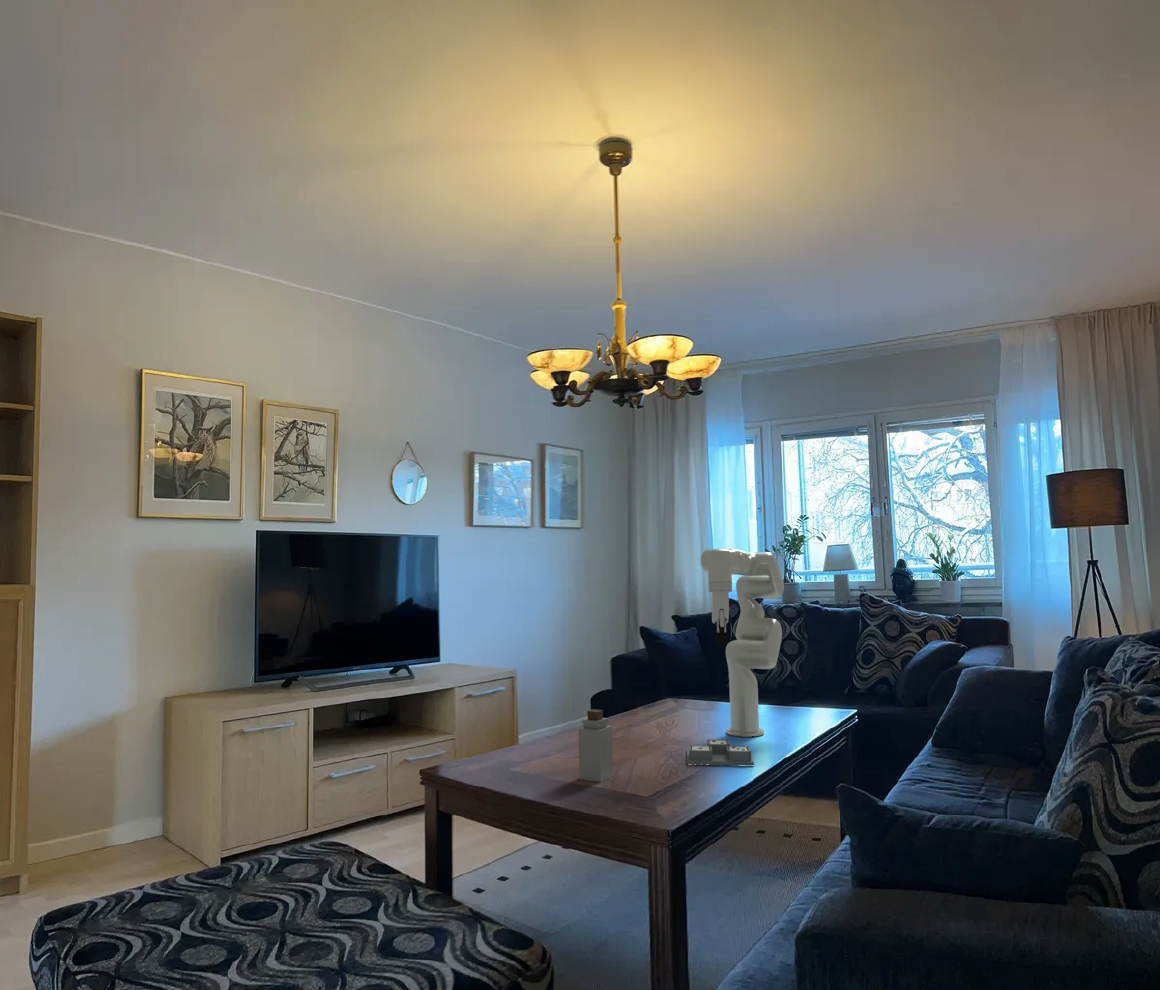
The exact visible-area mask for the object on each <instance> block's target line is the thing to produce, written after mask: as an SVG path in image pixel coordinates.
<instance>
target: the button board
mask: <svg viewBox="0 0 1160 990" xmlns="http://www.w3.org/2000/svg"><path fill="white" fill-rule="evenodd" d="M709 740H710V741H726V743H727V744H710V743H709ZM692 746H693V745H688V746H687V747H686V765H687V764H692V765H691V766H695V765H694V764H696V765H701V764H702V765H706V764H709V765H754V766H755V761H754V759H753V755H752V751H751V748H750V746H745V745H743V746H741V745H730V741H729V739H706V745H701V746H702V747H709V750H692ZM729 747H746V748H747V750H748V751H729Z"/></svg>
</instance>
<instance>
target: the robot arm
mask: <svg viewBox="0 0 1160 990" xmlns="http://www.w3.org/2000/svg"><path fill="white" fill-rule="evenodd" d="M700 566H701V567H702V570H704V571H705V572H707V576H708V577H707V578H708V579H707V580H708V584H707V585H708V593H711V622H712V623H713V624H716V645H717V646H718V647H719V646H723V647H724V646H726V647H725V658H726V663H727V668H728V669H727V671H728V680H729V681H728V683H729V712H730V713H729V714H730V727H727V728H726V729H725V733H726V734H727V735H729V736H733V737H740V736H741V737H745V738H748V737H749V738H753V737H752V736H754V737H760V736H762V735H764V734H765V733H764V731H765V730H764V729H763V728H760V721H759V719H760V718H759V717H760V716H759V696H758V695H759V691H758V690H759V688H758V679H757V678H756V675H755V674H754V673H753V672H752V669H757V670H758V669H759V670H772V669H774V668H775V667H776V666H777V662H778V659H779V653H780V649H781V644H782V640H783V639H782V638H783V629H782V624H781V623H780V621H779V620H777V619H776V618H773V617H772V618H770V617H765V610H764V608H763V607H762V606H761V605H760V604H759V602H758V601H756V600H755V599H777V598H780V597H781V596H783V594H784V591H785V590H784V589H785V588H784V587H785V585H784V581H783V576H782V573H781V569H780V566H779V564H778V560H777V558H776V556H775V555H774V554H773V553H772V552H770V551H769V552H768V551H765V552H764V551H761V552H760V551H759V552H755V551H754V552H752V551H751V552H750V551H744V550H740V549H737V548H711V549H709V548H708V549H705V550H704V551H702V553H701V554H700ZM733 575H737V576H738V575H740V577H739V578H738V579H737V580H736V584H735V589H736V595H737V596H736V597H737V601H738V604H739V607H740V613H739V617H738V620H737V625H736V628H735V638H736V639H734V640H732V641H730V642H728V633H727V624H728V623H729V615H730V613H729V612H730V602H729V601H730V600H729V599H730V597H729V593H732V592H733V579H732V578H733Z"/></svg>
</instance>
